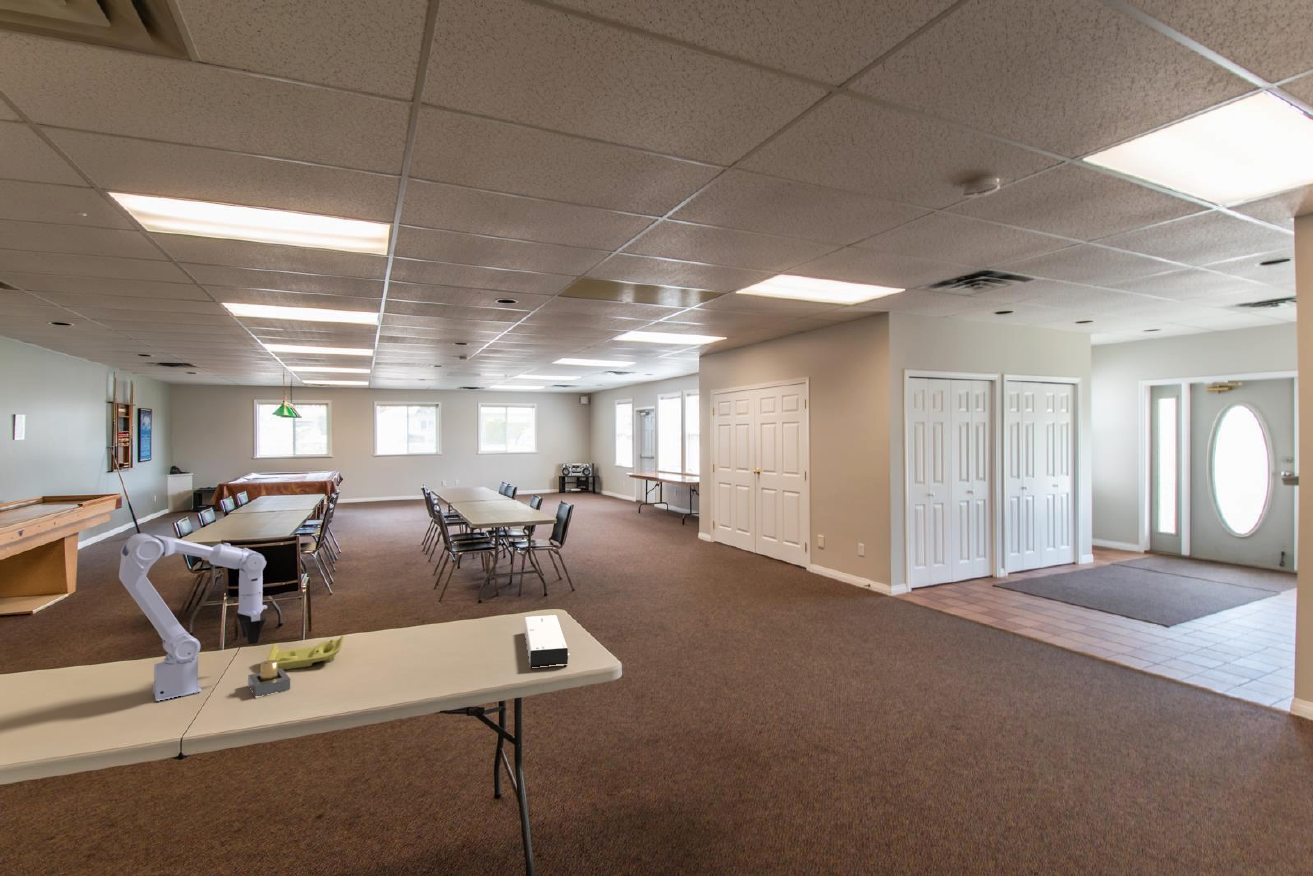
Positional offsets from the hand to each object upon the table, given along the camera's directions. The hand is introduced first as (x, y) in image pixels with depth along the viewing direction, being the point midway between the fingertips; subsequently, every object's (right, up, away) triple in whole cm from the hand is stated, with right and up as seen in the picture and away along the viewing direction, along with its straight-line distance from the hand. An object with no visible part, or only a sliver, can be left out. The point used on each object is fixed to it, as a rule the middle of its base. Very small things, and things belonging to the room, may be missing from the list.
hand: (250, 640), depth 178 cm
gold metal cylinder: (+11, -10, -9) cm, 17 cm away
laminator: (+81, -12, +25) cm, 85 cm away
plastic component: (+11, -10, +9) cm, 18 cm away
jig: (+11, -10, -9) cm, 17 cm away
